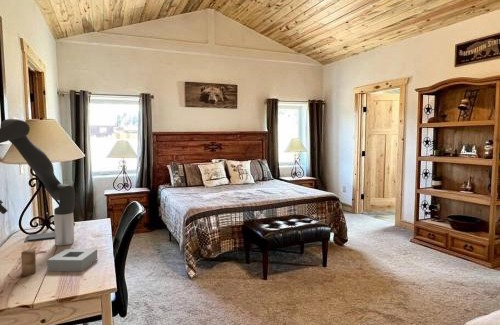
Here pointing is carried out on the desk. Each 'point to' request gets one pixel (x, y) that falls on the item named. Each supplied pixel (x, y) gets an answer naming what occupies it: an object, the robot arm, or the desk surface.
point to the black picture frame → (40, 237)
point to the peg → (28, 262)
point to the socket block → (72, 260)
